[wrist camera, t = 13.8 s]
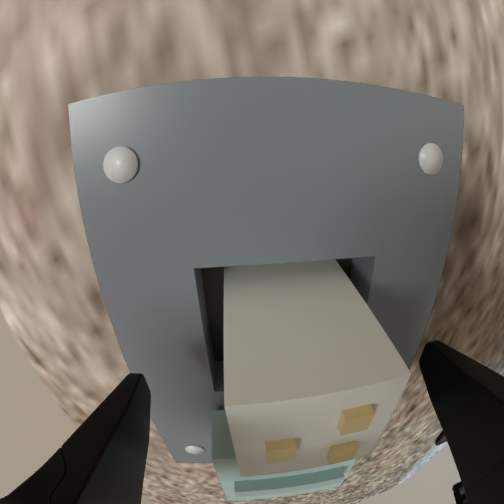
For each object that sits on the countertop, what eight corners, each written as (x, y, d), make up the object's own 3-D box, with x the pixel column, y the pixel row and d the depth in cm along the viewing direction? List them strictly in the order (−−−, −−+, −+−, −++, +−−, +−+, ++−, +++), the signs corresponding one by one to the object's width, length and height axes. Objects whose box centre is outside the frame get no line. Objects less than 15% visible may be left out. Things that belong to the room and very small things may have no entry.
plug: (332, 256, 11) (417, 383, 5) (325, 338, 12) (373, 461, 7) (224, 265, 11) (224, 418, 5) (233, 348, 12) (241, 485, 7)
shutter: (330, 453, 14) (341, 495, 11) (226, 465, 14) (228, 509, 11) (352, 394, 11) (373, 449, 9) (212, 410, 11) (211, 472, 8)
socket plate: (364, 416, 16) (374, 441, 14) (178, 436, 16) (175, 463, 14) (430, 104, 9) (465, 105, 7) (96, 105, 8) (66, 104, 6)
